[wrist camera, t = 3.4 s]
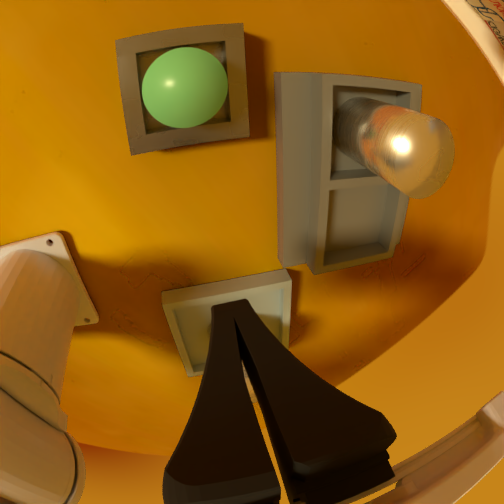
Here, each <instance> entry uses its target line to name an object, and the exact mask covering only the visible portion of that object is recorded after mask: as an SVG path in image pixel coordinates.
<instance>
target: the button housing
mask: <svg viewBox="0 0 504 504" xmlns="http://www.w3.org/2000/svg"><path fill="white" fill-rule="evenodd" d="M115 42H116V53H117V63H118V73H119V81H120V89H121V96H122V103H123V110H124V117H125V123H126V129H127V135H128V141H129V146H130V152H131V156H132V155H136V154H141V153H146V152H151V151H157V150H162V149H167V148H173V147H179V146H185V145H191V144H198V143H205V142H212V141H219V140H227V139H235V138H244V137H250V129H249V112H248V95H247V78H246V61H245V45H244V28H243V23H235V24H217V25H204V26H194V27H185V28H178V29H171V30H164V31H158V32H152V33H147V34H142V35H137V36H132V37H128V38H123V39H119V40H115ZM183 47H193V48H198V49H201V50H204V51H206V52H208V53H210V54H212V55H213V56H214V57H215V58H217V59H218V61H219V62H220V63H221V64H222V66H223V67H224V70H225V72H226V75H227V80H228V91H227V95H226V99H225V101H224V103H223V105H222V107H221V108H220V110H219V111H218V112H217V113H216V114H215V115H214V116H213V117H212V118H211V119H209V120H208V121H206V122H204V123H202V124H200V125H197V126H194V127H190V128H175V127H171V126H167V125H165V124H163V123H161V122H159V121H158V120H156V119H155V118H154V117H153V116H152V115H151V114H150V113H149V111H148V110H147V108H146V106H145V104H144V101H143V97H142V83H143V79H144V76H145V74H146V72H147V70H148V68H149V67H150V65H151V64H152V63H153V62H154V61H155V60H156V59H157V58H158V57H160V56H161V55H163V54H164V53H166V52H168V51H170V50H173V49H177V48H183Z"/></svg>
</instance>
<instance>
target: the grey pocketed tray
mask: <svg viewBox="0 0 504 504" xmlns="http://www.w3.org/2000/svg"><path fill="white" fill-rule="evenodd" d="M274 90H275V118H276V152H277V204H278V259H279V261H280V263H281V265H282V266H283V268H284V267H289V266H294V265H299V264H304V263H306V264H307V265H308V267H309V268H310V270H311V271H312V273H313V275H317V274H322V273H326V272H331V271H335V270H340V269H344V268H349V267H353V266H357V265H362V264H366V263H370V262H375V261H379V260H383V259H387V258H391V257H393V254H394V250H395V246H396V244H399V243H400V238H401V234H402V230H403V225H404V220H405V216H406V211H407V206H408V200H409V196H407V195H406V194H404V193H403V192H402V191H400V190H399V189H397V188H396V187H394V186H393V185H391V184H390V183H388V182H387V181H385V180H384V179H382V178H381V177H379V176H378V175H376V174H374V173H373V172H371V171H370V170H368V169H367V168H365V167H363V166H362V165H360V164H358V163H357V162H355V161H354V160H352V159H350V158H349V157H347V156H345V155H344V154H342V153H341V152H340V151H339V150H338V148H337V147H336V145H335V143H334V141H333V137H332V122H333V118H334V115H335V113H336V111H337V110H338V108H339V107H340V106H341V105H342V104H343V103H344V102H345V101H347V100H349V99H351V98H354V97H367V98H371V99H375V100H379V101H382V102H386V103H390V104H393V105H397V106H400V107H404V108H407V109H410V110H413V111H417V112H420V109H421V94H422V85H421V84H416V83H411V82H405V81H399V80H392V79H385V78H378V77H369V76H360V75H348V74H335V73H314V72H274Z"/></svg>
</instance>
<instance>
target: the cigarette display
mask: <svg viewBox="0 0 504 504" xmlns="http://www.w3.org/2000/svg"><path fill="white" fill-rule="evenodd" d="M441 1H442V2H443V3H444V5H445V6H446V7H447V8H448V9H449V10H450V11H451V13H452V14H453V15H454V16H455V17H456V19H457V20H458V21H459V22H460V23H461V25H462V26H463V27H464V29H465V30H466V31H467V32H468V34H469V35H470V36H471V38H472V39H473V40H474V42H475V43H476V45H477V46H478V47H479V49H480V50H481V52H482V53H483V55H484V56H485V57H486V59H487V61H488V62H489V64H490V65H491V67H492V68H493V70H494V71H495V73H496V75H497V76H498V78H499V80H500V81H501V83H502V85H503V86H504V0H441Z"/></svg>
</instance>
